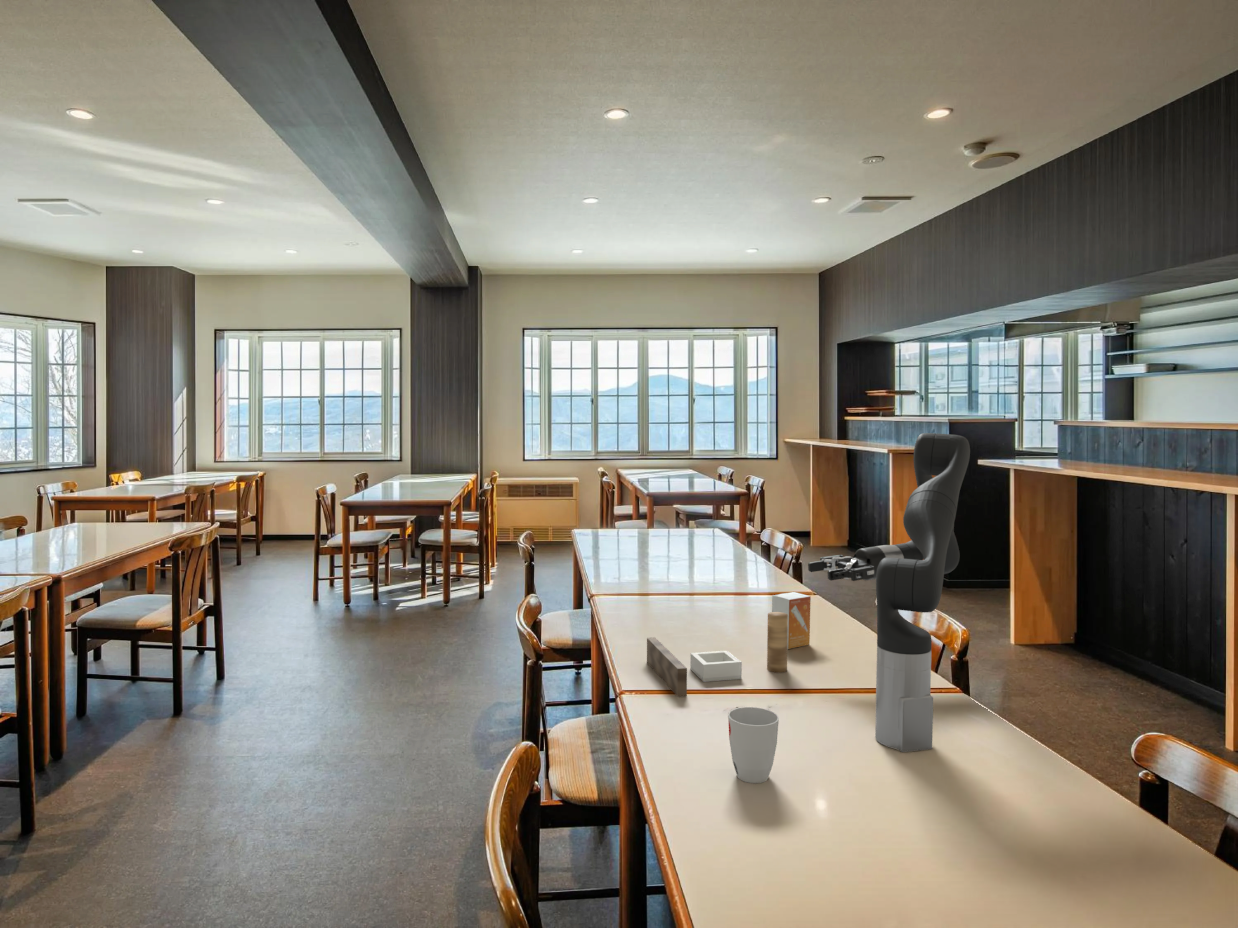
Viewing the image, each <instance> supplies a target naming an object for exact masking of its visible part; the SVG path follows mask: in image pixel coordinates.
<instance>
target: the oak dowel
mask: <svg viewBox="0 0 1238 928" xmlns="http://www.w3.org/2000/svg"><path fill="white" fill-rule="evenodd" d="M787 635H788V614H786V613H782V612H772V611H771V612H768V613H767V641H766V642H767V648H766V649H767V650H766V651H767V653H766V659H767V660H766V670H767V671H769V672H771V673H775V674H777V673H780V674H781V673H786V672H787V671H788V649H787Z"/></svg>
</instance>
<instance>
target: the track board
mask: <svg viewBox="0 0 1238 928" xmlns="http://www.w3.org/2000/svg"><path fill="white" fill-rule="evenodd" d="M646 663H647V664H648V665H649V666H650V668H651V669H652V670H653V671H654V672H655V673H656V674H657V676H659V678H660V679H661V680H662V682H664V684H665V685H666V686H667V687H668V688H669V689H670V690H671V691H672V692H673V693H674V694H675V696H676V697H679V698H680V697H688V691H687V690H688V686H687V685H688V668H687V667H686V666H685V665H684V664H683V662H681V661H680V660H679V659H678V658H677V657H676V656H675V655H674V654H673V653H672V652H671V651H670V650H669V649H668V648H667V647H666V646H665V645H664V644H663V643H662V642H660V640H659V639H658V638H657V637H655V636H654V637H647V638H646Z"/></svg>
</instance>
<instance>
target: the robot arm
mask: <svg viewBox="0 0 1238 928" xmlns="http://www.w3.org/2000/svg"><path fill="white" fill-rule="evenodd" d="M970 445H971V444H970V442H969V440H968V439H967V437H965V436H962V435H959V434H950V433H938V432H937V433H936V432H935V433H934V432H922V433H920V434H919V436H917V438H916V441H915V444H914V449H913V468H914V469H913V470H914V474H915V480H916V486H917V488H915V489H914V490H913V491H912V493H910V495H909V497H908V500H907V502H906V503H907V504H906V506H905V510H904V514H903V518H902V520H903V521H902V522H903V527H904V530H905V532H906V534H907V535H908V537H909V538H910V540H909V541H907V542H904V543H903V542H902V543H898V544H883V545H876V546H869V547H863V548H859V549H857V550H856V551H855V553H854V555H853V557H852V556H850V555H849V556H847V555H846V556H844V555H843V554H837V555H829V556H821V557H819V560H816V561H811V562H808V563H807V568H808V569H807V570H808V572H809V573H810V572H811V573H815V572H820V571H821V572H822V571H827V580H828V581H836V580H842V579H844V580H851V581H853V582H855V581H860V580H861V581H862V580H864V581H871V580H875V598H876V599H875V600H876V637H877V639H876V671H875V672H876V673H875V675H876V678H875V679H876V680H875V681H876V684H875V732H874V733H875V734H874V735H875V736H874V738H875V740H876V741H877V742H879V744H881V745H884V746H886V747H888V748H891V749H893V750H894V749H895V750H898V751H900V752H901V753H905V752H906V753H907V752H916V751H917V752H918V751H925V750H932V749H933V724H934V697H933V695H931V687H932V686H931V679H932V678H931V677H932V674H931V673H932V643H933V642H932V641H933V639H932V636H931V634H930V633H929V631H927V630H925V629H924V628H921V627H919V626H917V625H915V624H913V623H912V622H911V621H908V620H907V619H905V618H904V617H903V616H902V615H901V613H900V612H899V611H905V612H906V611H907V612H913V613H914V612H915V613H923V614H924V613H932V612H934V611H935V610H936V609H937V608H938V605H939V603H940V602H941V597H942V592H943V585H944V576H945V575H946V574H949V573H951V572H952V571H954V570H955V569H956V568H957V566H958V565H959V562H960V556H961V555H960V554H961V553H960V550H959V549H960V548H959V545H958V541H957V537H956V535H955V532H954V531H955V528H954V527H955V520H956V517H957V510H958V503H959V496H960V490H961V487H962V484H963V481H964V479H965V475H966V473H967V469H968V467H969V462H970V457H971V455H970V454H971V448H970ZM933 476H934V477H933Z"/></svg>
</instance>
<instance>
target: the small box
mask: <svg viewBox="0 0 1238 928" xmlns="http://www.w3.org/2000/svg"><path fill="white" fill-rule="evenodd" d="M811 602H812V601H811V595H807V594H803V593H800V592H795V591H793V592H792V591H791V592H785V593H784V592H783V593H779V594H775V595H774V594H772V596H771V612H782V613H786V614H788V635H787V650H790V649H794V648H795V649H796V648H799V647H804V646H809V645H810V639H811V638H810V637H811V634H810V633H811V631H810V630H811Z"/></svg>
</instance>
